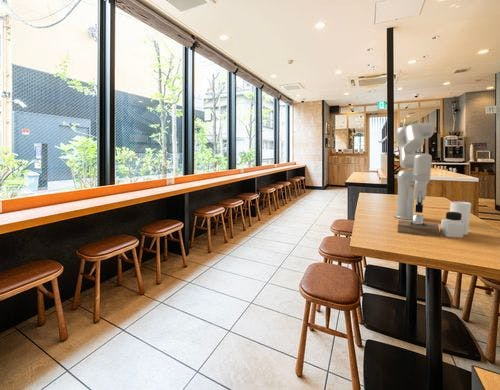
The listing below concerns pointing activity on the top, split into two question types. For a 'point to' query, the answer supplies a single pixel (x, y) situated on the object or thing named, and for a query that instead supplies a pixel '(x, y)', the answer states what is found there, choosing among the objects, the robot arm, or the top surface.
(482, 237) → the top surface
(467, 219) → the cup
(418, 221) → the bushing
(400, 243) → the top surface
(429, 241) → the top surface
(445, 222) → the medicine bottle
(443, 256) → the top surface
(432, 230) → the block
